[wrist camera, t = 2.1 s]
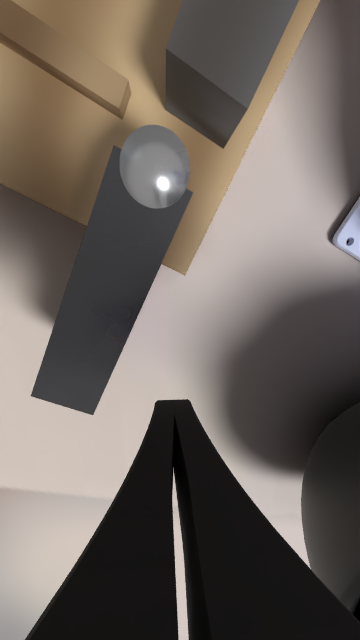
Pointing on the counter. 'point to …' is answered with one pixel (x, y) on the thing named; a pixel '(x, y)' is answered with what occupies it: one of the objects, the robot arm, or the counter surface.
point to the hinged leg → (115, 265)
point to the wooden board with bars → (137, 93)
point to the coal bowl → (335, 508)
